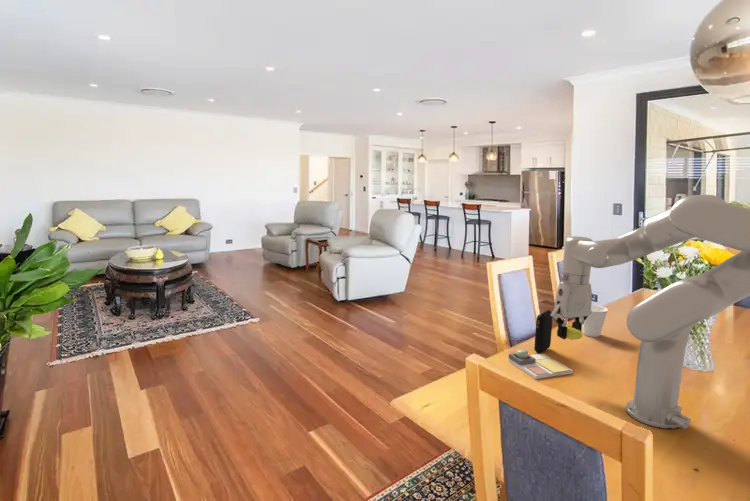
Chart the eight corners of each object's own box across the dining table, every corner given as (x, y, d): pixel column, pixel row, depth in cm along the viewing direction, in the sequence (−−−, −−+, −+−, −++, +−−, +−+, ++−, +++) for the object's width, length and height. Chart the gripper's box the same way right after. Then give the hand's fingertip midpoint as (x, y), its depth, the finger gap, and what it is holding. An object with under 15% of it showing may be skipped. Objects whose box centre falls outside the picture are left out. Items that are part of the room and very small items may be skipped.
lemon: (560, 332, 135) (561, 320, 134) (584, 341, 128) (586, 328, 128) (552, 335, 133) (553, 323, 132) (576, 344, 126) (578, 331, 125)
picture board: (572, 373, 136) (573, 365, 136) (535, 379, 132) (536, 371, 132) (543, 356, 149) (543, 349, 149) (508, 360, 145) (508, 353, 145)
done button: (530, 358, 142) (530, 352, 141) (520, 359, 141) (521, 353, 140) (523, 354, 145) (523, 348, 145) (514, 355, 144) (514, 349, 144)
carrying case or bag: (539, 357, 148) (542, 316, 146) (531, 354, 150) (534, 314, 148) (551, 348, 156) (554, 309, 154) (543, 346, 158) (546, 308, 156)
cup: (611, 337, 168) (614, 310, 166) (592, 340, 165) (595, 312, 163) (590, 329, 177) (592, 303, 176) (572, 332, 174) (574, 305, 172)
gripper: (561, 283, 121) (554, 344, 124) (607, 280, 126) (600, 338, 130) (542, 277, 128) (537, 334, 131) (588, 274, 133) (581, 329, 137)
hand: (568, 336), depth 130 cm, fingers closed on lemon, 4 cm apart
